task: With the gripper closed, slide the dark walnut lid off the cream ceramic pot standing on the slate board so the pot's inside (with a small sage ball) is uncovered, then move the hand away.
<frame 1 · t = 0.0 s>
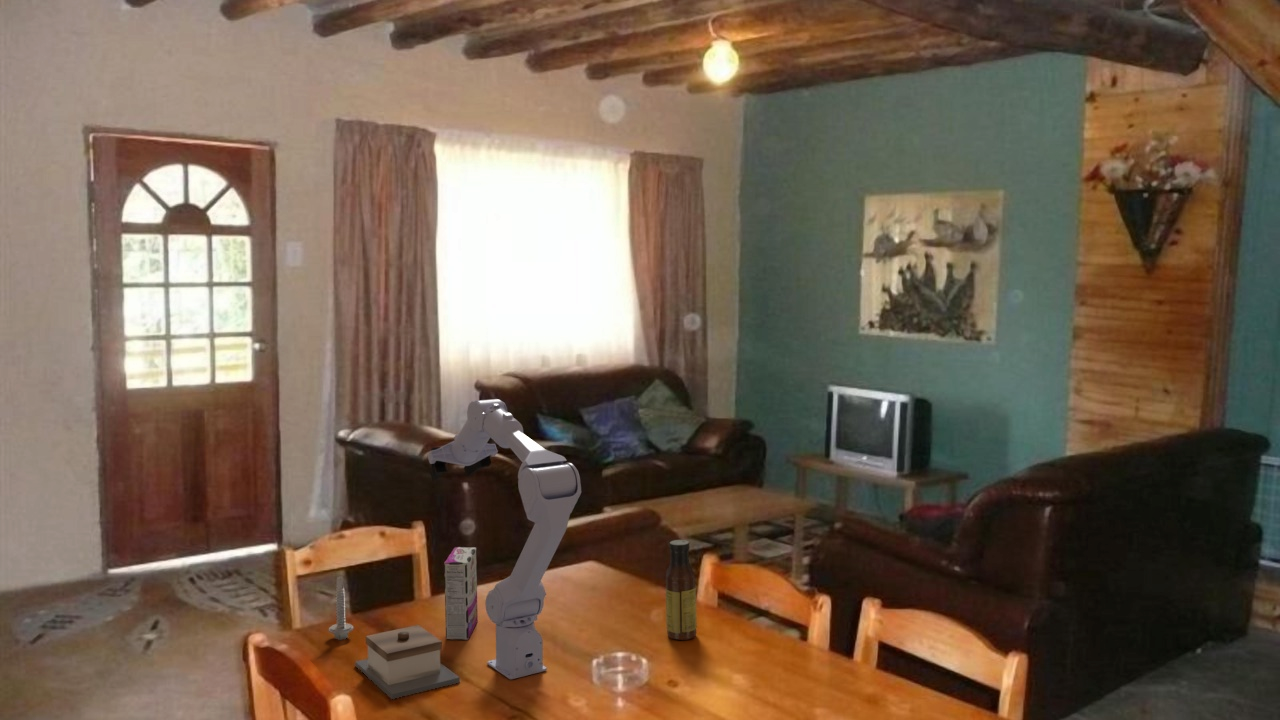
hand: (450, 474, 219), 32 cm above the table, tool tilted 50°, fingers open, 7 cm apart
lid: (403, 646, 195), point 5 cm above the table, touching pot
candy bar box: (461, 631, 219), on the table
ball: (405, 664, 196), point 2 cm above the table, touching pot
sauce bottle: (680, 636, 217), on the table
board: (406, 674, 196), on the table
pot: (404, 675, 196), resting on board
screw: (341, 639, 214), on the table
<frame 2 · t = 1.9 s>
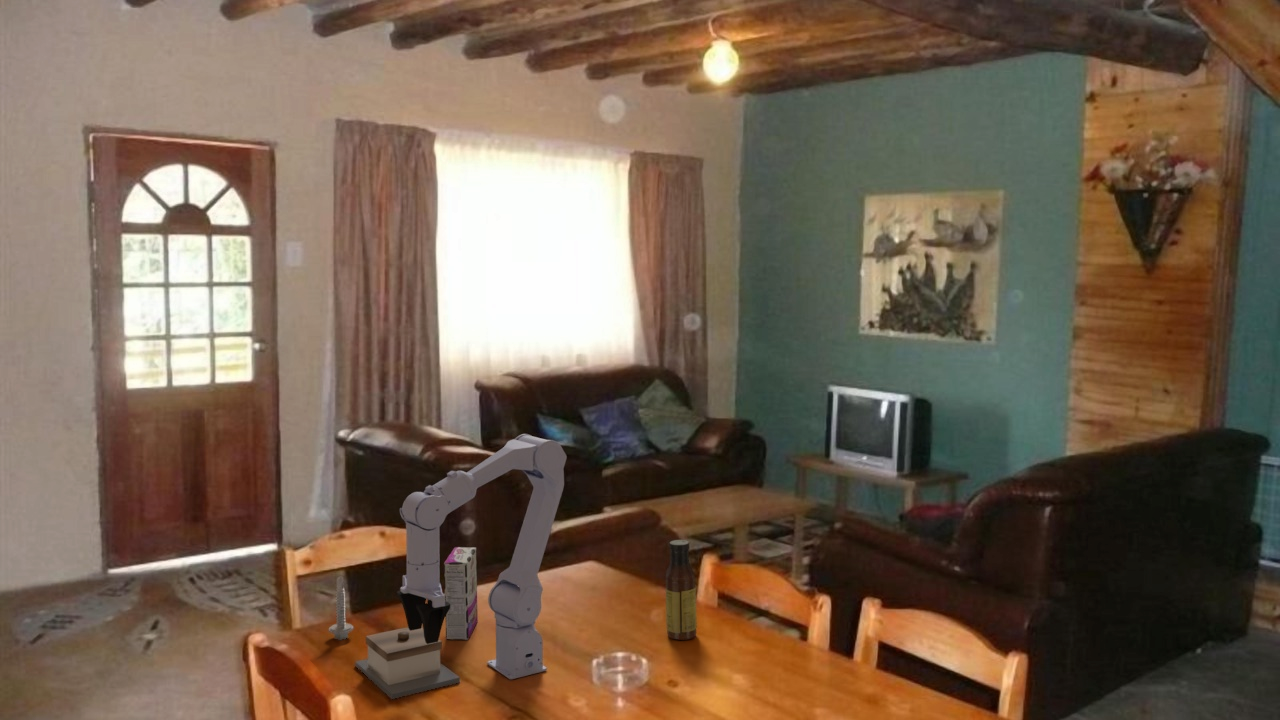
hand: (423, 635, 187), 11 cm above the table, tool pointing down, fingers open, 7 cm apart
nothing on the table moved.
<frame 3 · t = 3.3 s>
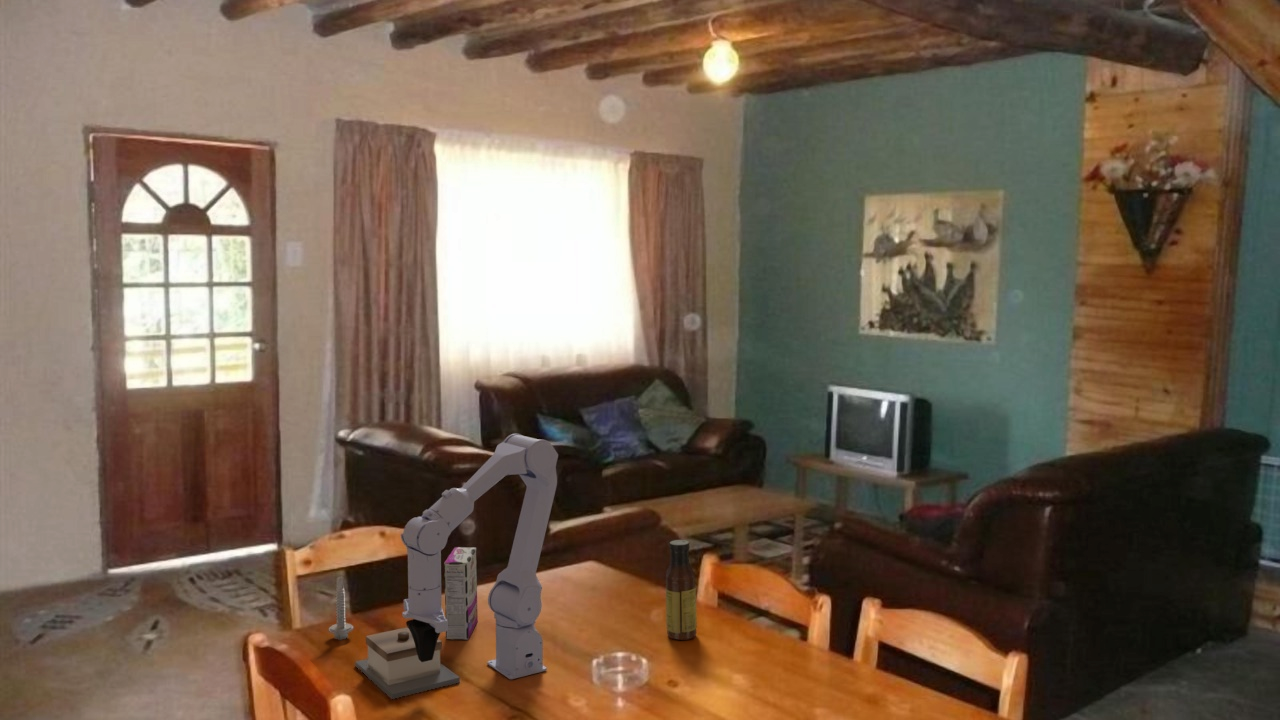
hand: (425, 659, 187), 6 cm above the table, tool pointing down, fingers closed
nothing on the table moved.
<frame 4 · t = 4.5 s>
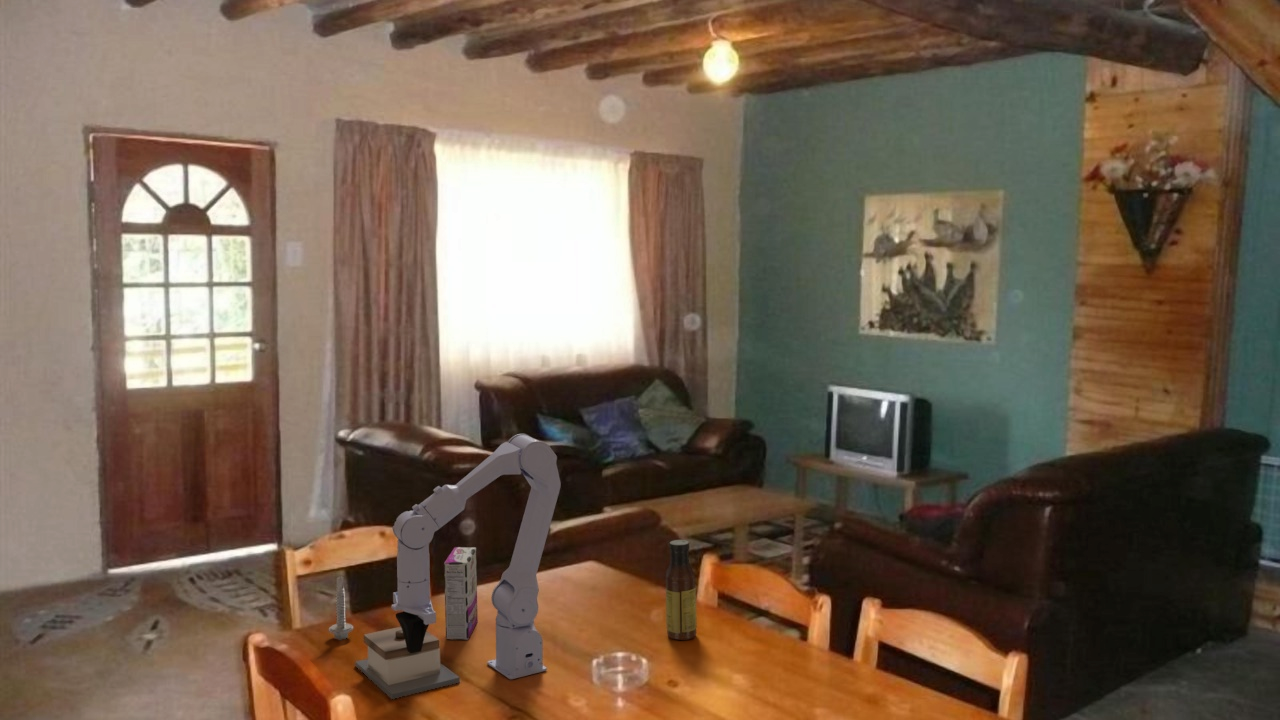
hand: (414, 651, 191), 6 cm above the table, tool pointing down, fingers closed
lid: (401, 644, 196), point 5 cm above the table, touching gripper, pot
everything else where it was.
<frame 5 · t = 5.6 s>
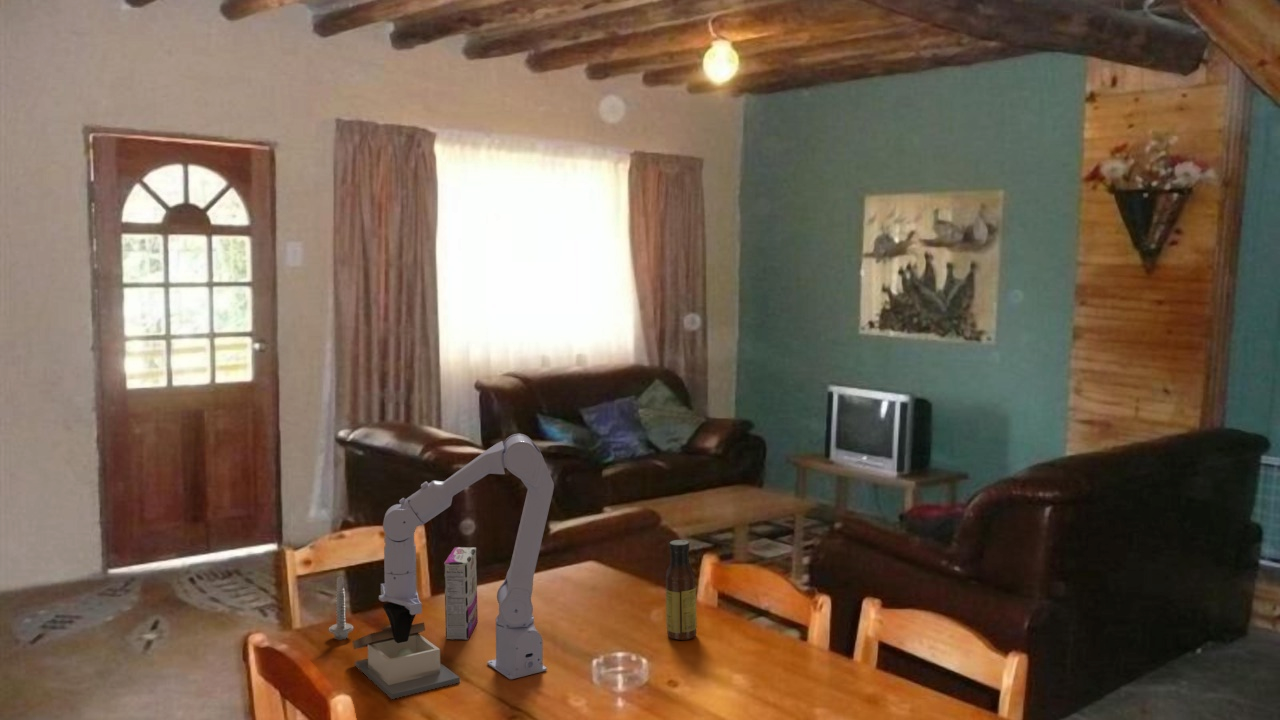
hand: (401, 641, 196), 6 cm above the table, tool pointing down, fingers closed
lid: (389, 639, 201), point 5 cm above the table, tilted 25°, touching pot
everything else where it was.
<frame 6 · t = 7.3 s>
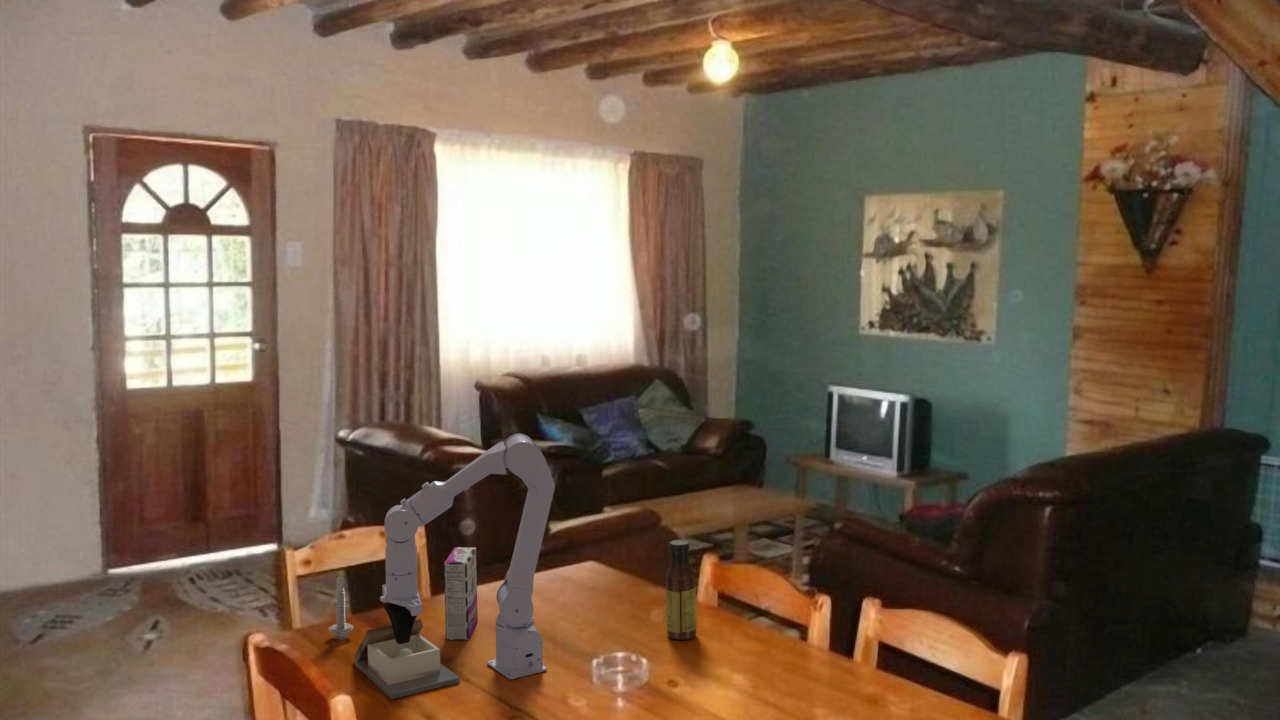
hand: (402, 642, 196), 6 cm above the table, tool pointing down, fingers closed
lid: (389, 644, 201), point 4 cm above the table, tilted 45°, touching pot
everything else where it was.
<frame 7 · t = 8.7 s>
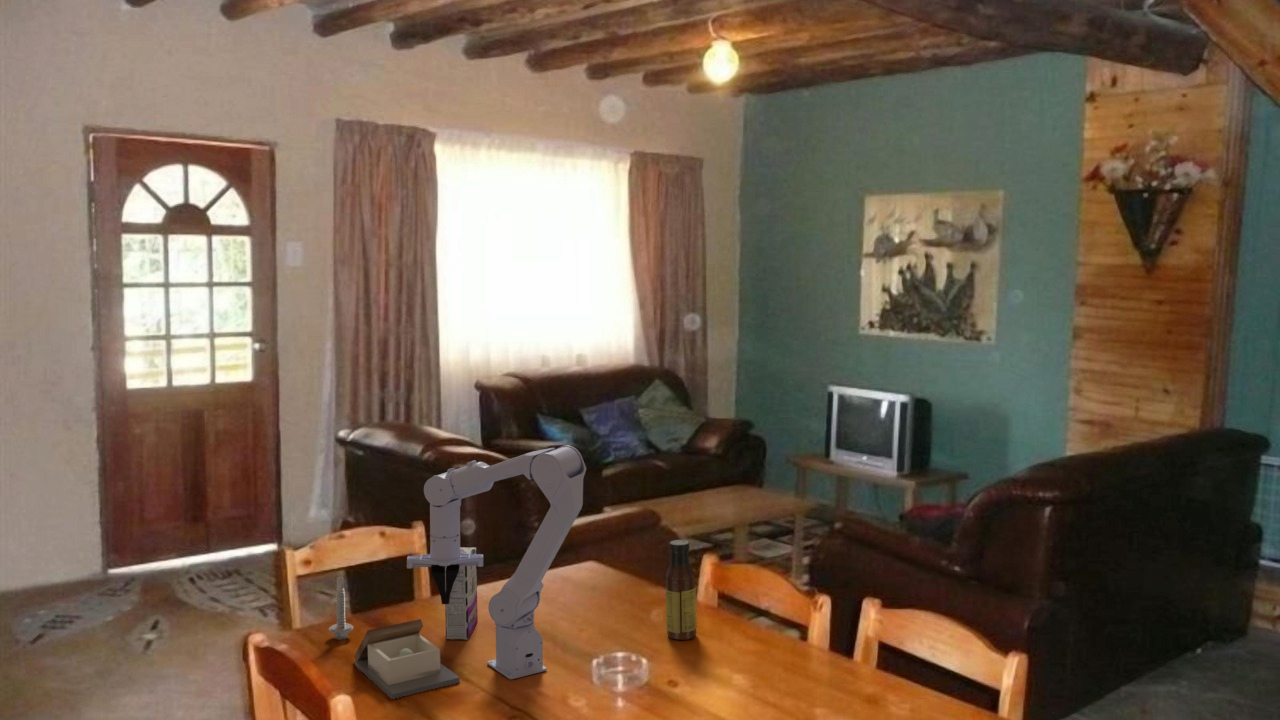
hand: (445, 602, 205), 10 cm above the table, tool pointing down, fingers closed
nothing on the table moved.
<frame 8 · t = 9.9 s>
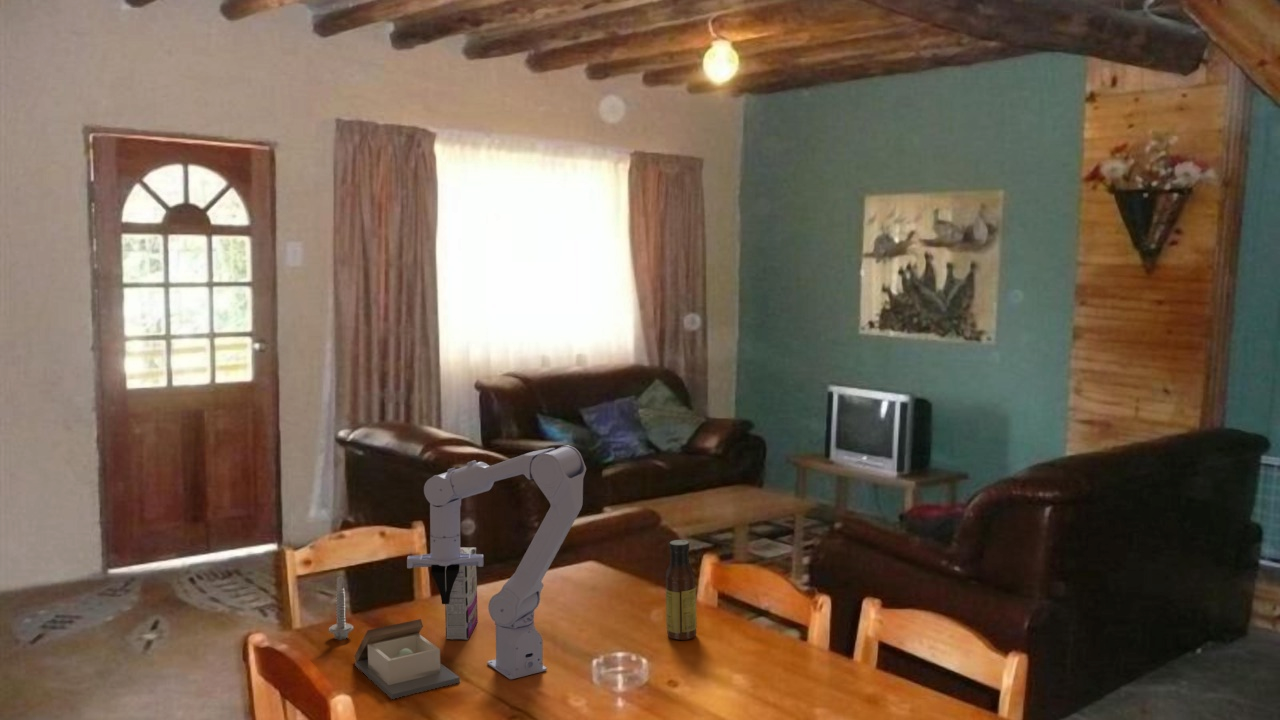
hand: (445, 602, 205), 10 cm above the table, tool pointing down, fingers closed
nothing on the table moved.
at the end: lid inside the target area on the table beside the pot (7.2 cm from its centre), point 3.7 cm above the table; lid moved 7.1 cm from its start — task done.
